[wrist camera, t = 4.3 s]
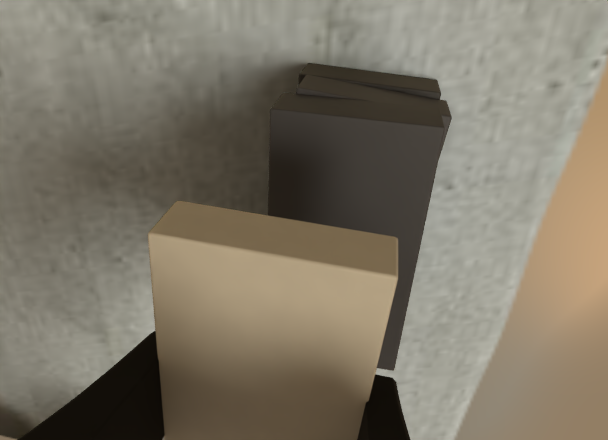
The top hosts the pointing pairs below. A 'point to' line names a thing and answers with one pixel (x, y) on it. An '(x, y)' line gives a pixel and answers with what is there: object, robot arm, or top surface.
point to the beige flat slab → (266, 323)
